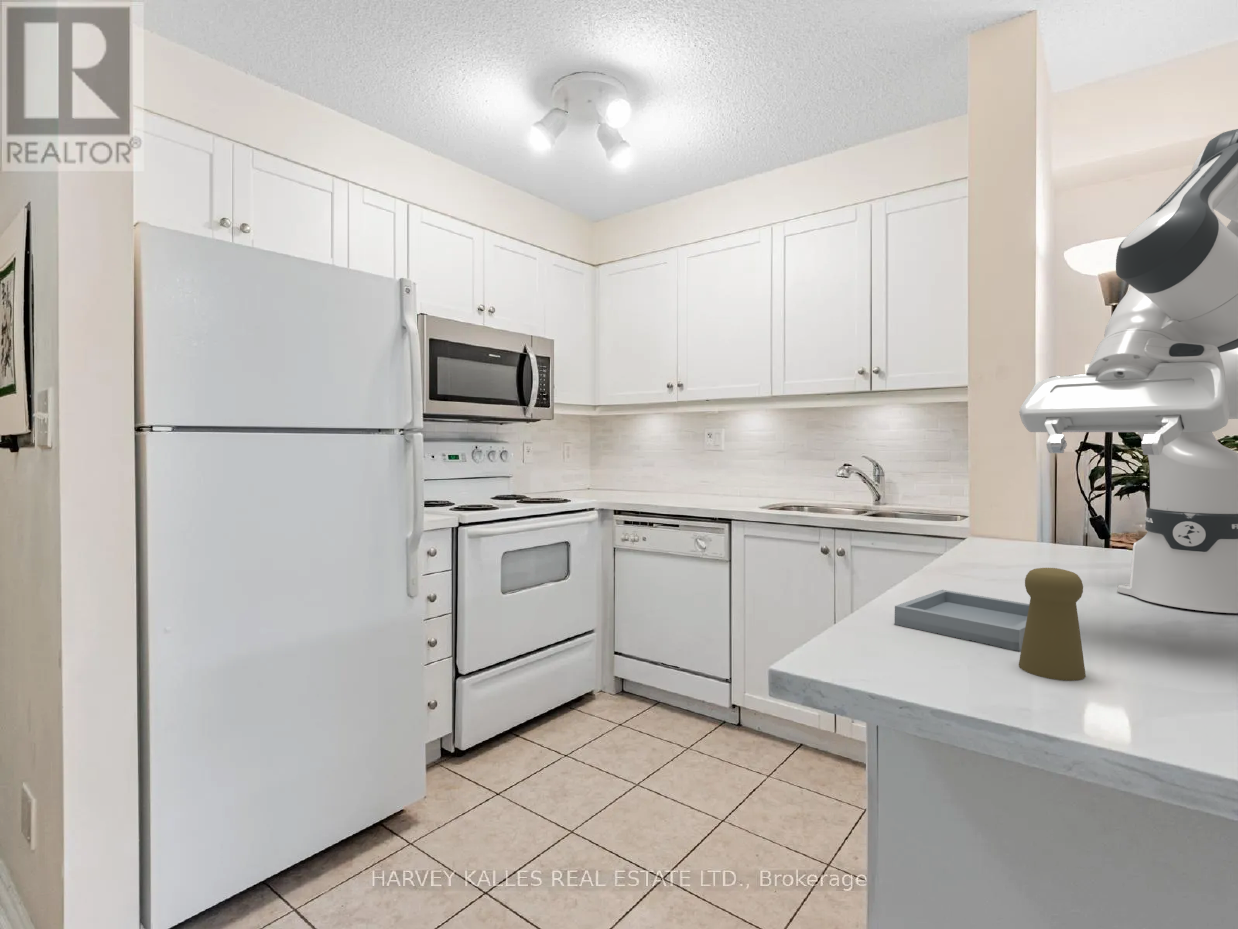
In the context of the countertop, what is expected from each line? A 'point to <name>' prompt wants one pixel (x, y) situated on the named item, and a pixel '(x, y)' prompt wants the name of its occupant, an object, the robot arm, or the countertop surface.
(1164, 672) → the countertop surface
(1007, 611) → the slate grey tray
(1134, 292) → the robot arm
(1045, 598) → the cork
